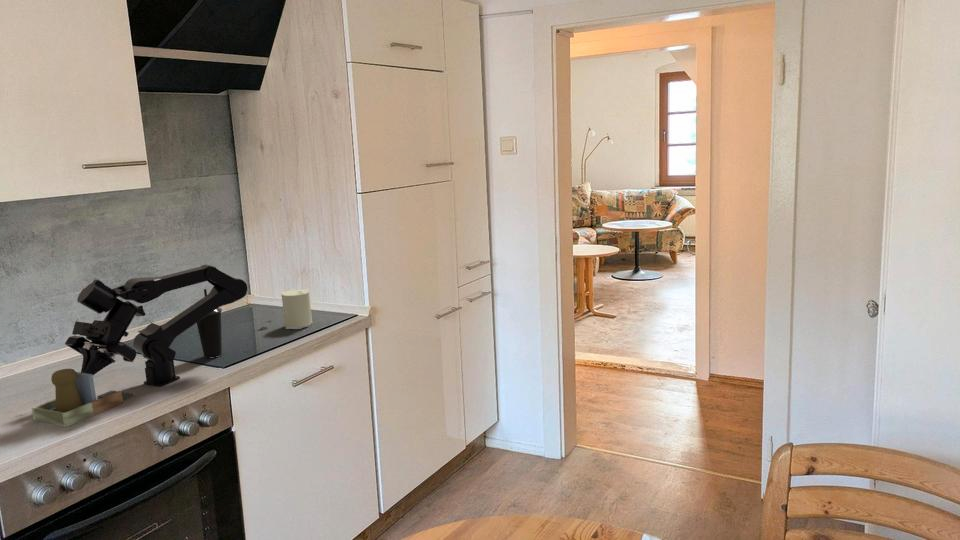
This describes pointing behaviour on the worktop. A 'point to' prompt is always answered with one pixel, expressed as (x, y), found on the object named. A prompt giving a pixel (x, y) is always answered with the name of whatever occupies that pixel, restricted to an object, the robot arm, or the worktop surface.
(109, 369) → the worktop surface
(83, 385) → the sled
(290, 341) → the worktop surface
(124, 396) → the pit mat
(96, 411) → the track
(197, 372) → the worktop surface
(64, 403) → the cork
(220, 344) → the drinking cup
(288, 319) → the can
